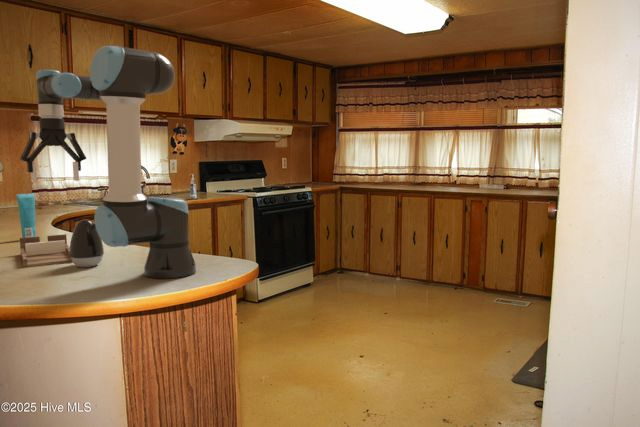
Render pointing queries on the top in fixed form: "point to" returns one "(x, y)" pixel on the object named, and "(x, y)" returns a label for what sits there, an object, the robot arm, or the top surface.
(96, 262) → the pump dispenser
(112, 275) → the top surface
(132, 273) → the top surface
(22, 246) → the brown wooden tray
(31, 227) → the tube
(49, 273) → the top surface
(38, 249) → the pusher
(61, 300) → the top surface
